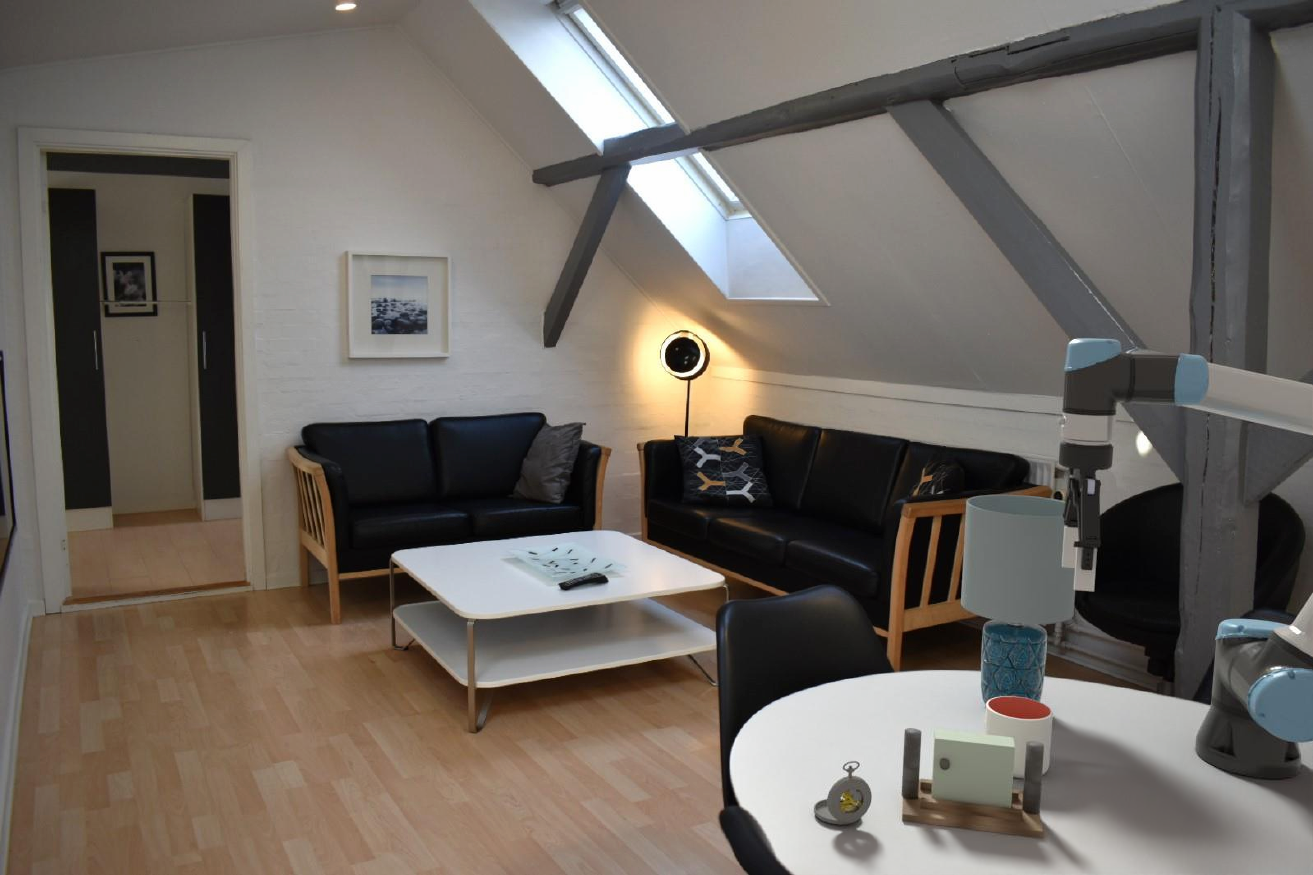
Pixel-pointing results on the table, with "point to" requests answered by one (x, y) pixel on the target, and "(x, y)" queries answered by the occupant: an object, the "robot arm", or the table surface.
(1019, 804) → the hinge board
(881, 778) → the table surface
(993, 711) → the cup
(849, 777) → the pocket watch
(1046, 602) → the lamp
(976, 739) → the door
